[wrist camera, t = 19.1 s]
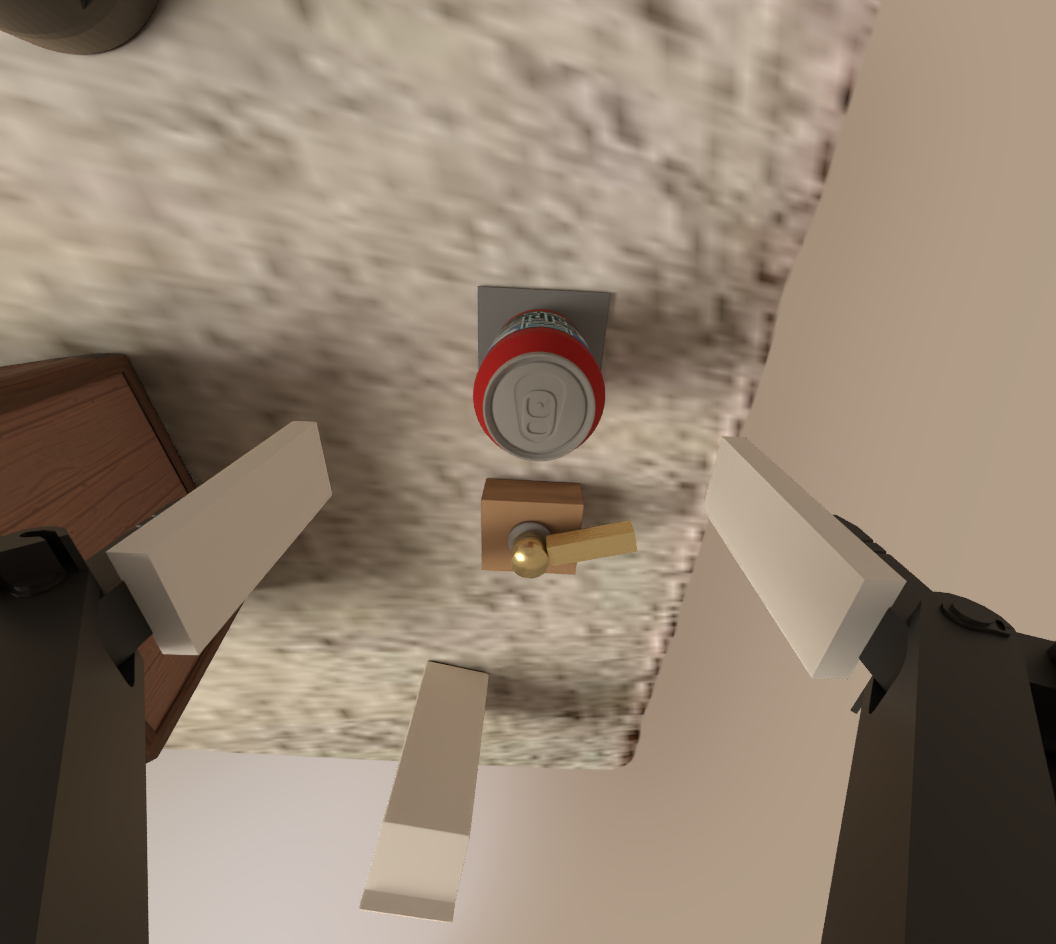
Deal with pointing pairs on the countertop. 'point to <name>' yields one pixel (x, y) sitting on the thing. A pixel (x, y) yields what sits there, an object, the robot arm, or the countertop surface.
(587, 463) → the countertop surface
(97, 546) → the tissue box
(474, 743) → the milk carton
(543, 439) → the beverage can
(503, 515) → the pedestal
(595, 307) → the mat
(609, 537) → the lever
